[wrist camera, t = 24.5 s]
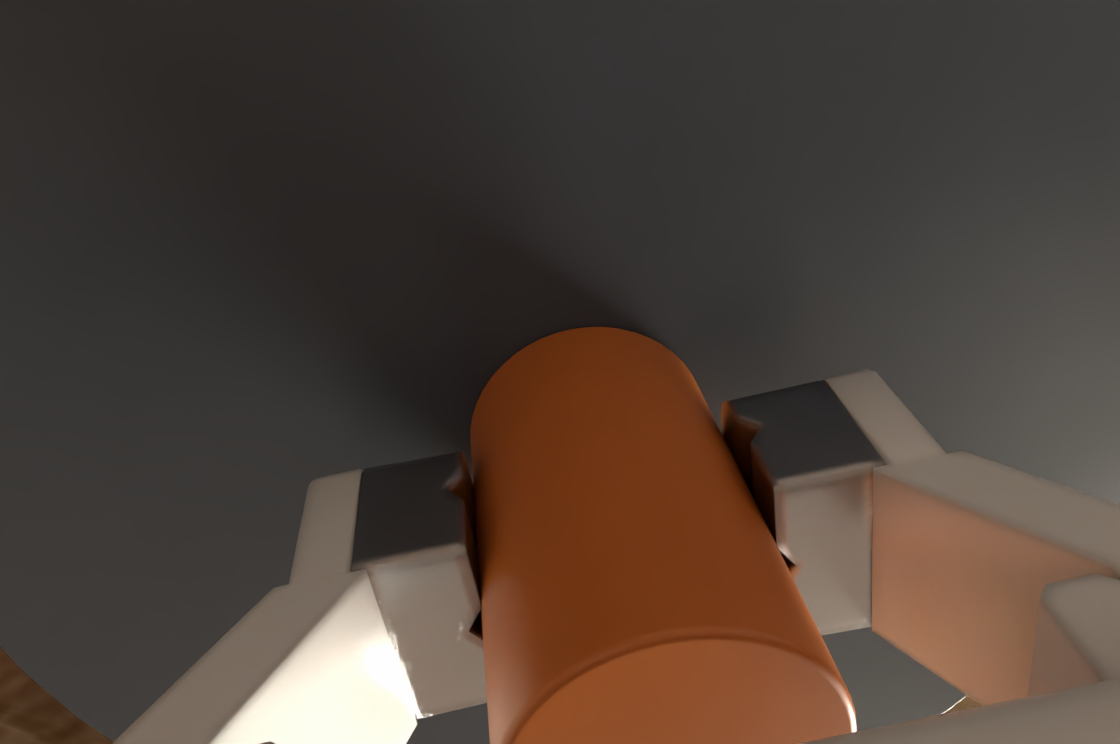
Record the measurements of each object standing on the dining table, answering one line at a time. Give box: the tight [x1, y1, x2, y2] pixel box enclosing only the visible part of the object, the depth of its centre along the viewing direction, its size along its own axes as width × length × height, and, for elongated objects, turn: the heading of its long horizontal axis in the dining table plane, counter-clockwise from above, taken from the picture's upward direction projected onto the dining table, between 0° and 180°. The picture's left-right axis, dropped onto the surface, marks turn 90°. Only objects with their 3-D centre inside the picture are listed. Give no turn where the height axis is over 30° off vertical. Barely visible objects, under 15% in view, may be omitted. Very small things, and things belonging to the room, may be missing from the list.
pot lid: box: [0, 0, 1120, 744], centre depth 9 cm, size 15×15×6 cm
